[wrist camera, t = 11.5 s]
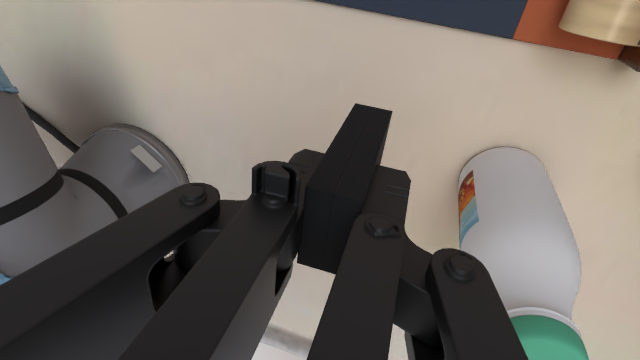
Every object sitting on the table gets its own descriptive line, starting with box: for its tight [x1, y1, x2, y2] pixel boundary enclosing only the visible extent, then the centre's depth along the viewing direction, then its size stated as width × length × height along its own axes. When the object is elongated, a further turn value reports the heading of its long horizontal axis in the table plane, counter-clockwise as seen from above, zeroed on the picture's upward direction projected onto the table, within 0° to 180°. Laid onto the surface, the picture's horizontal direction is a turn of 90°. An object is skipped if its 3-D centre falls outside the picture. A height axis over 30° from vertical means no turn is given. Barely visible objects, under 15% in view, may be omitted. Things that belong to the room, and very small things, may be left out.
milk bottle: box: [458, 147, 589, 360], centre depth 28 cm, size 8×8×20 cm
